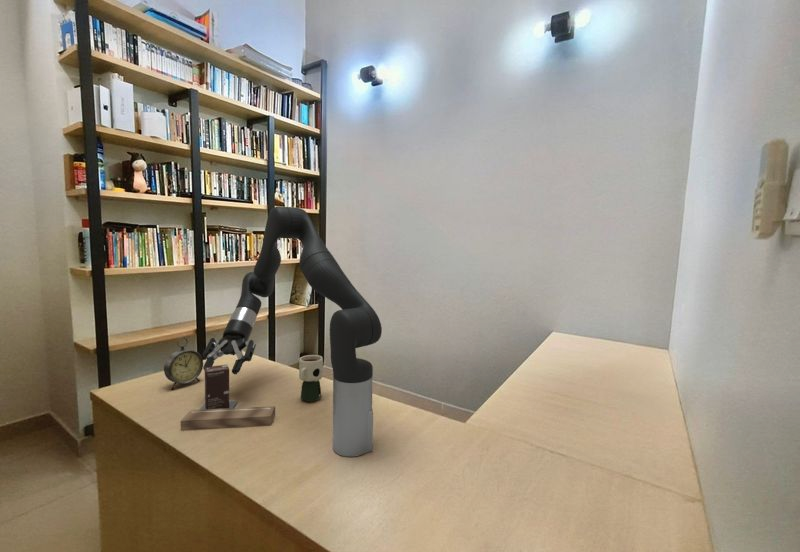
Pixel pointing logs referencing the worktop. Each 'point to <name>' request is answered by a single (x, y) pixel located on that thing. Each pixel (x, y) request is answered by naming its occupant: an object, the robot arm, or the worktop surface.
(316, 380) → the character mug
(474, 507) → the worktop surface
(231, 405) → the grey mat
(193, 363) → the alarm clock
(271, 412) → the walnut board
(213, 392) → the box
